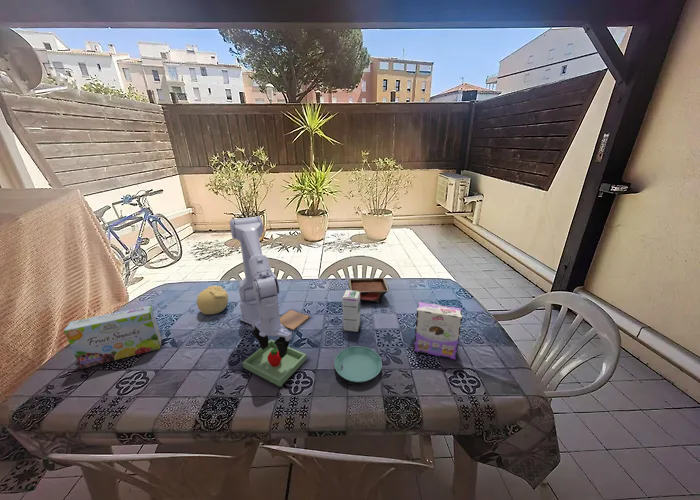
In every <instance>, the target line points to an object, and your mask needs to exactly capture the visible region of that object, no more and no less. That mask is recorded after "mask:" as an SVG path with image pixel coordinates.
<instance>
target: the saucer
mask: <svg viewBox="0 0 700 500" xmlns="http://www.w3.org/2000/svg"><path fill="white" fill-rule="evenodd" d="M333 363H334V364H333V365H334V369H335V371H336V372H337V375H339V376H340V377H341V378H342V379H344V380H346V381H348V382H351V383H355V384H357V383H358V384H359V383H360V384H361V383H366V382H370V381H371V380H373V379H375V378H376V377H377V376H378V375H379V374H380V372H381V371H382V368H383V362H382V358H381V356H380V355H379V353H377V352H376V351H375V350H373V349H372V348H369V347H366V346H361V345H355V346H353V345H352V346H350V347H346V348H344V349H342V350H341V351H339V353H337V355H336V357H335V359H334V362H333Z"/></svg>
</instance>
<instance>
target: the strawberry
mask: <svg viewBox="0 0 700 500" xmlns="http://www.w3.org/2000/svg"><path fill="white" fill-rule="evenodd" d="M281 360H282V358H280V356H279V351H277V349H272V350H271V352H270V353H269V355H268V362H269V363H270V364H271V366H273V367H276V366H278V365H279V364H280V362H281Z"/></svg>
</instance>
